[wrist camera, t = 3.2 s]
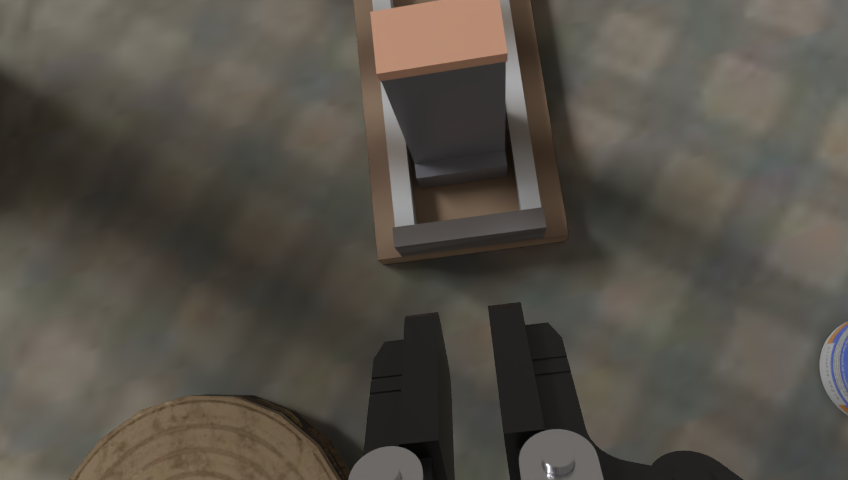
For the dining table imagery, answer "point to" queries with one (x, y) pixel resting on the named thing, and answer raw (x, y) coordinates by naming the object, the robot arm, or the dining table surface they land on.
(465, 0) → the fader tab
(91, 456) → the brown round disc
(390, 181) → the board
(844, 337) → the pill bottle
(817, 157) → the dining table surface
